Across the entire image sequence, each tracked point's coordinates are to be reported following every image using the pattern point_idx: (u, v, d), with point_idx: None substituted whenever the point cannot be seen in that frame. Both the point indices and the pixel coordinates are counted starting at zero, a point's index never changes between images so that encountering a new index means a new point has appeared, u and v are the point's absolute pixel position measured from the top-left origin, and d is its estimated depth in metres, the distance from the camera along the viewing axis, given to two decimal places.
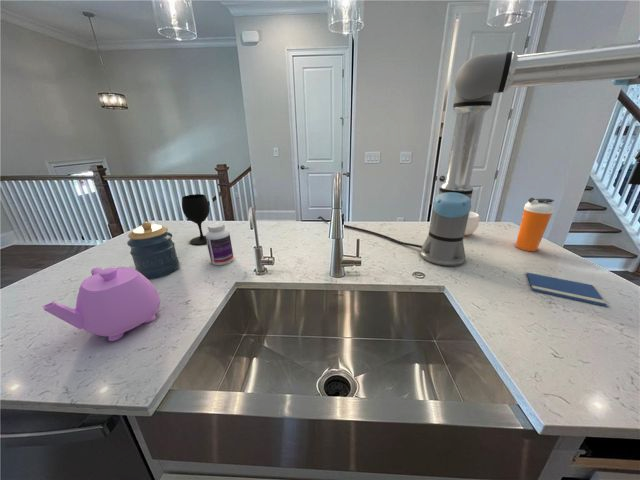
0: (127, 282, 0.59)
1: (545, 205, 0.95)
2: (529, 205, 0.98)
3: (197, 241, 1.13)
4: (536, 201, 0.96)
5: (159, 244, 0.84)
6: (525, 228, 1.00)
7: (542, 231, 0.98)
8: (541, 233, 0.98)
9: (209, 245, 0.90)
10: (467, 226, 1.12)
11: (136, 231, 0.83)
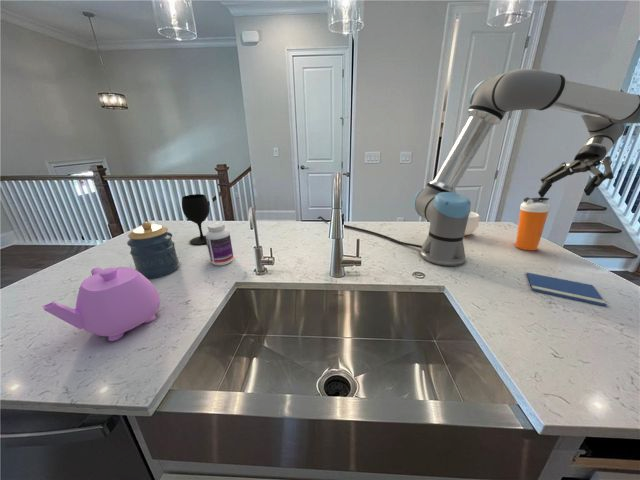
0: (127, 282, 0.59)
1: (541, 204, 0.95)
2: (524, 205, 0.98)
3: (197, 241, 1.13)
4: (531, 200, 0.97)
5: (159, 244, 0.84)
6: (522, 228, 1.01)
7: (540, 230, 0.98)
8: (539, 232, 0.98)
9: (209, 245, 0.90)
10: (467, 226, 1.12)
11: (136, 231, 0.83)
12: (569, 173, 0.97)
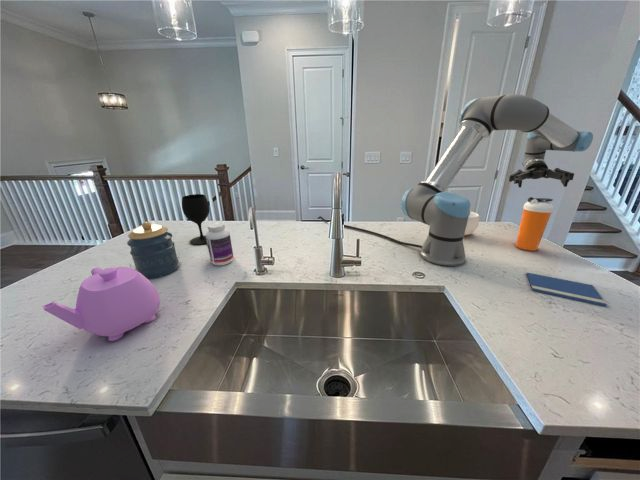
0: (127, 282, 0.59)
1: (545, 204, 0.95)
2: (528, 204, 0.98)
3: (197, 241, 1.13)
4: (535, 200, 0.97)
5: (159, 244, 0.84)
6: (524, 228, 1.01)
7: (542, 230, 0.98)
8: (541, 232, 0.99)
9: (209, 245, 0.90)
10: (467, 226, 1.12)
11: (136, 231, 0.83)
12: (528, 176, 1.10)
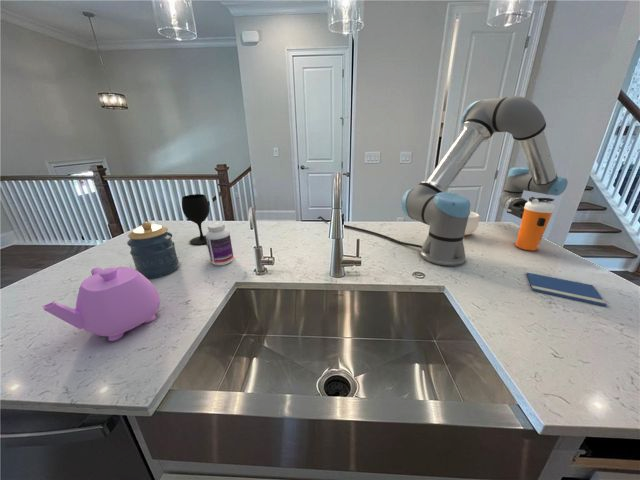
0: (127, 282, 0.59)
1: (546, 204, 0.95)
2: (529, 204, 0.98)
3: (197, 241, 1.13)
4: (536, 200, 0.96)
5: (159, 244, 0.84)
6: (525, 228, 1.00)
7: (542, 230, 0.98)
8: (541, 232, 0.98)
9: (209, 245, 0.90)
10: (467, 226, 1.12)
11: (136, 231, 0.83)
12: None
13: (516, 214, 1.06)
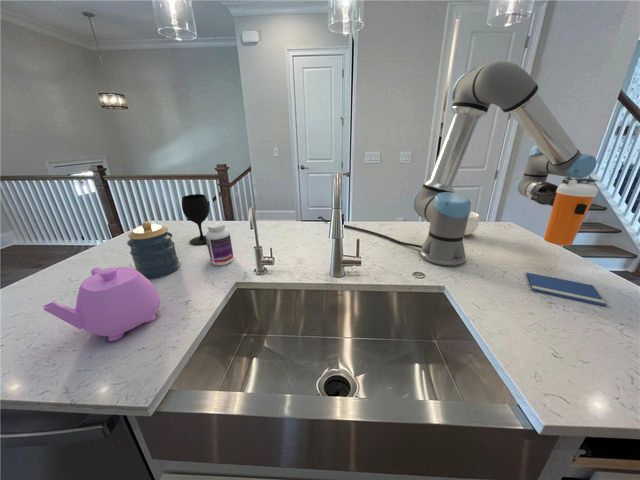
0: (127, 282, 0.59)
1: (587, 186, 0.74)
2: (565, 187, 0.77)
3: (197, 241, 1.13)
4: (574, 181, 0.75)
5: (159, 244, 0.84)
6: (558, 217, 0.79)
7: (581, 220, 0.77)
8: (579, 222, 0.77)
9: (209, 245, 0.90)
10: (467, 226, 1.12)
11: (136, 231, 0.83)
12: None
13: (544, 201, 0.85)
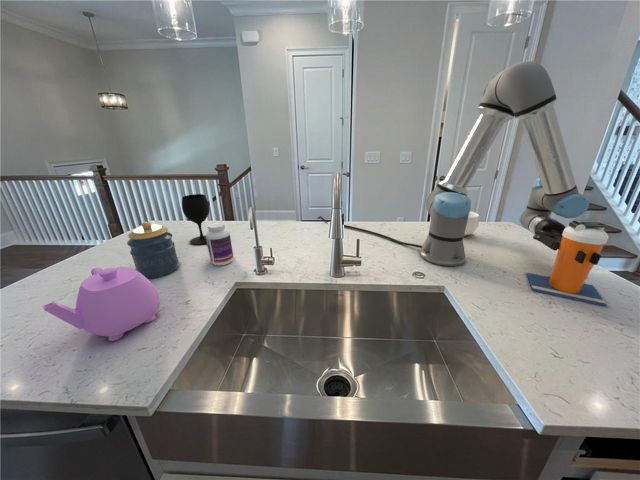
0: (127, 282, 0.59)
1: (596, 232, 0.68)
2: (572, 231, 0.70)
3: (197, 241, 1.13)
4: (582, 226, 0.69)
5: (159, 244, 0.84)
6: (564, 263, 0.73)
7: (589, 267, 0.71)
8: (588, 270, 0.71)
9: (209, 245, 0.90)
10: (467, 226, 1.12)
11: (136, 231, 0.83)
12: None
13: (545, 242, 0.79)
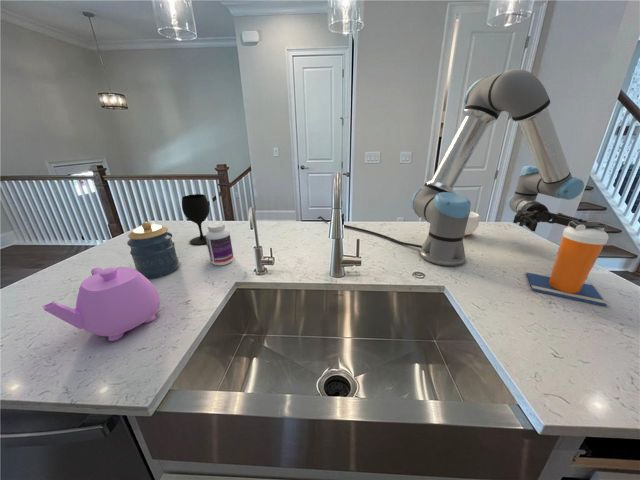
0: (127, 282, 0.59)
1: (597, 232, 0.68)
2: (572, 231, 0.70)
3: (197, 241, 1.13)
4: (582, 226, 0.69)
5: (159, 244, 0.84)
6: (564, 263, 0.73)
7: (590, 267, 0.71)
8: (588, 270, 0.71)
9: (209, 245, 0.90)
10: (467, 226, 1.12)
11: (136, 231, 0.83)
12: (532, 219, 0.92)
13: None
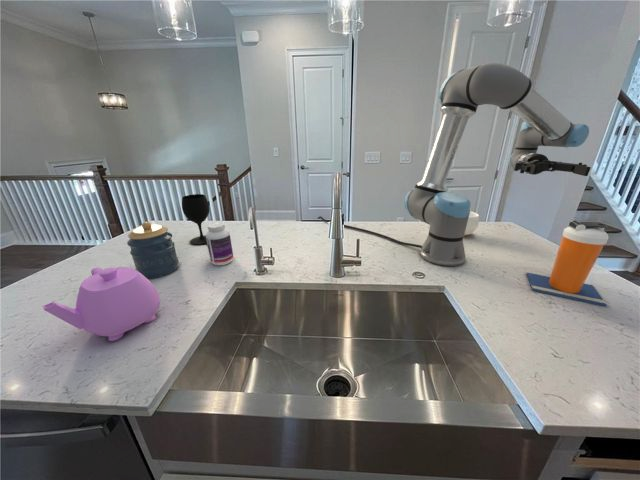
0: (127, 282, 0.59)
1: (597, 232, 0.68)
2: (572, 231, 0.70)
3: (197, 241, 1.13)
4: (582, 226, 0.69)
5: (159, 244, 0.84)
6: (564, 263, 0.73)
7: (590, 267, 0.71)
8: (588, 270, 0.71)
9: (209, 245, 0.90)
10: (467, 226, 1.12)
11: (136, 231, 0.83)
12: None
13: None
